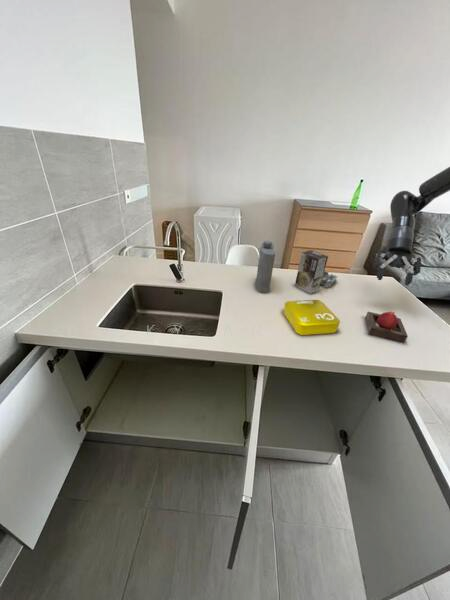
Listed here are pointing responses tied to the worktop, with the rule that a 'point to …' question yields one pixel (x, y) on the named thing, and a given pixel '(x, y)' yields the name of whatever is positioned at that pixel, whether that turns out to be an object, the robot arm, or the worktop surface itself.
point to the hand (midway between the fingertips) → (393, 281)
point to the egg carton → (328, 279)
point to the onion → (387, 320)
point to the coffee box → (311, 271)
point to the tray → (376, 331)
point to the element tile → (310, 317)
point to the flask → (265, 266)
